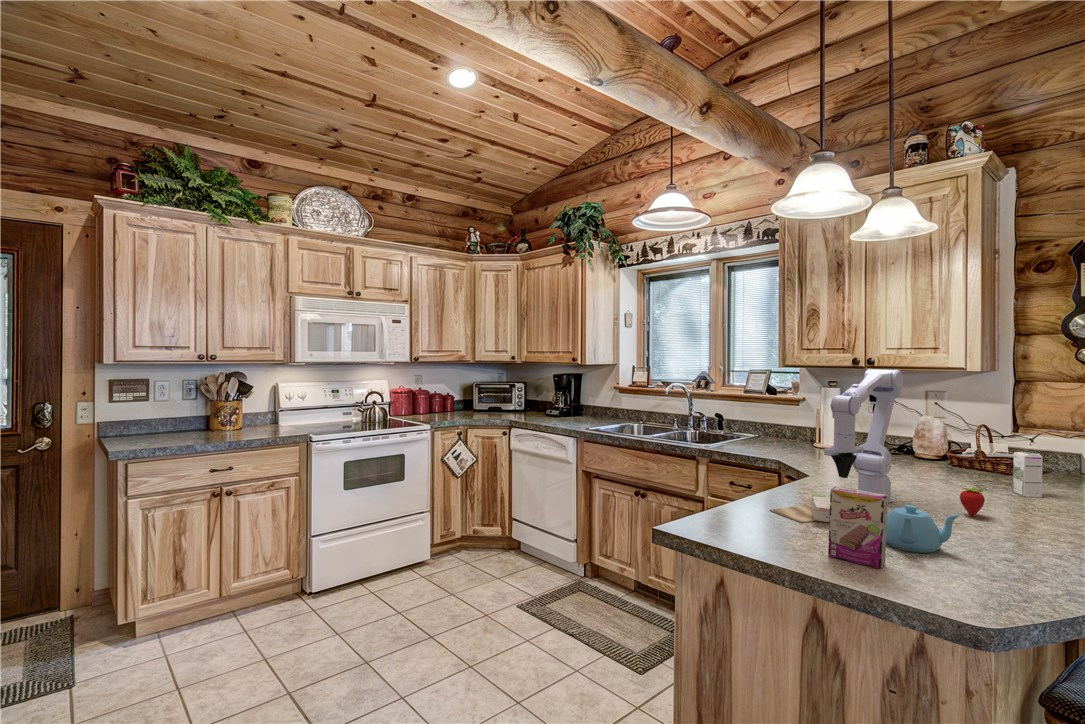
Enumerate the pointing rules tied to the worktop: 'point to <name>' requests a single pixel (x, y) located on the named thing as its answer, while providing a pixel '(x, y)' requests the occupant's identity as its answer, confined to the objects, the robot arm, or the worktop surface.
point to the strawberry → (972, 500)
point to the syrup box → (1027, 474)
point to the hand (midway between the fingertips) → (843, 477)
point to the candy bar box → (858, 526)
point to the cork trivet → (796, 513)
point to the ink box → (821, 507)
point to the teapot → (916, 530)
